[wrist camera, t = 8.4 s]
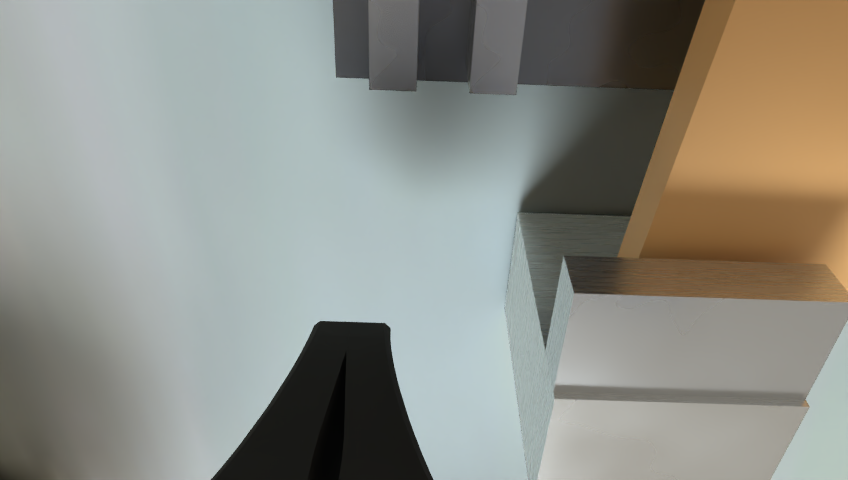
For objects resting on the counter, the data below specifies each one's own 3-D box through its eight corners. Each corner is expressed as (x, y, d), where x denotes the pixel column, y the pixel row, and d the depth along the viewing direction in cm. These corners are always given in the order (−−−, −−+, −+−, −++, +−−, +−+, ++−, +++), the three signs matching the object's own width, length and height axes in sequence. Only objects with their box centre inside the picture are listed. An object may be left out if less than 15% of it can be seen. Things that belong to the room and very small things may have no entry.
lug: (723, 136, 14) (862, 310, 9) (666, 313, 16) (752, 512, 12) (528, 129, 14) (576, 300, 9) (504, 308, 16) (532, 505, 12)
